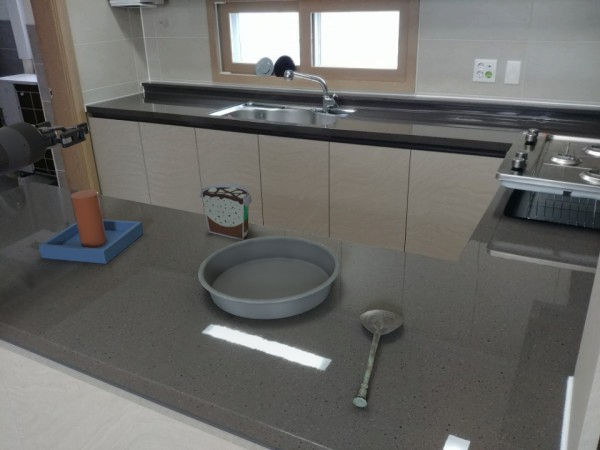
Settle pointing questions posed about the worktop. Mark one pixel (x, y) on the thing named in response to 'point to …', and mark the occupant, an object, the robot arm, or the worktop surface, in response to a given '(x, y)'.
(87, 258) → the tray
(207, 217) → the food container
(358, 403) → the soupspoon
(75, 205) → the orange cylinder
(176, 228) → the worktop surface
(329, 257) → the cake pan
